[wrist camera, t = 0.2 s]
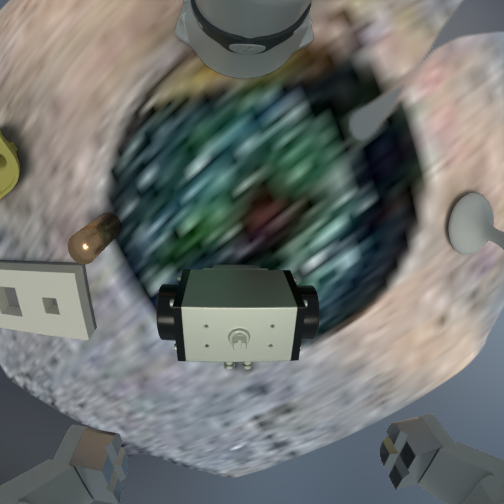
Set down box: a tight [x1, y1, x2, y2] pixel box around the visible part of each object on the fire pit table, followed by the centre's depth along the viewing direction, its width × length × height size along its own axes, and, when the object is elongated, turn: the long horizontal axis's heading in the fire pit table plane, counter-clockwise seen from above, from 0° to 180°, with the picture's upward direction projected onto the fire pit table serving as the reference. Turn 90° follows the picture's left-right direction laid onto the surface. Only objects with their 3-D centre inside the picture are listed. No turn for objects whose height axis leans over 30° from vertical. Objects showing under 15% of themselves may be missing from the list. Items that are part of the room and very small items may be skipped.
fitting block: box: [0, 260, 96, 340], centre depth 45 cm, size 22×12×4 cm, turn 88°
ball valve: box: [157, 265, 319, 370], centre depth 40 cm, size 18×8×18 cm, turn 88°
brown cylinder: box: [68, 213, 121, 264], centre depth 39 cm, size 4×4×10 cm
